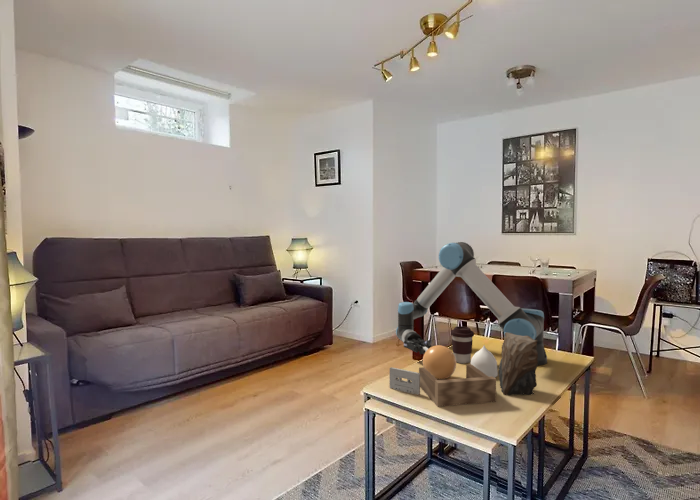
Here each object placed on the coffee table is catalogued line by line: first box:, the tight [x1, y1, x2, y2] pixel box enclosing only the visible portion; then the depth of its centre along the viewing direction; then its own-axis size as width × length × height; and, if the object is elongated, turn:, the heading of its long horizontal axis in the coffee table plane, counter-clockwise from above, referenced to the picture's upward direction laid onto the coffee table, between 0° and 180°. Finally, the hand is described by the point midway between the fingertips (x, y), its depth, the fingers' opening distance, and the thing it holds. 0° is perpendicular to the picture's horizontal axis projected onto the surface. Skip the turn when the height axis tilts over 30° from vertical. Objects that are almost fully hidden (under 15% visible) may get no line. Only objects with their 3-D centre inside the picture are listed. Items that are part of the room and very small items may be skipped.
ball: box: [422, 344, 457, 380], centre depth 164 cm, size 13×13×13 cm
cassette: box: [389, 367, 421, 395], centre depth 152 cm, size 12×2×8 cm, turn 57°
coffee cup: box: [450, 325, 475, 364], centre depth 185 cm, size 10×10×15 cm
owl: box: [497, 332, 539, 396], centre depth 153 cm, size 13×13×20 cm
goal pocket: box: [418, 363, 497, 408], centre depth 150 cm, size 21×18×8 cm
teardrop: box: [470, 344, 499, 378], centre depth 170 cm, size 11×11×12 cm
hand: (429, 354), depth 175 cm, fingers closed
